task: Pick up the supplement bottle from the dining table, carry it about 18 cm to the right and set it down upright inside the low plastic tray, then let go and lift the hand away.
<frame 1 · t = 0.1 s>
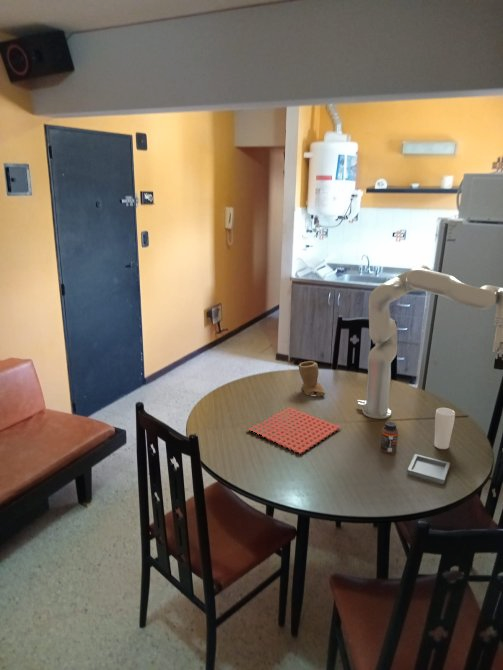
hand: (499, 365, 176), 31 cm above the table, tool pointing down, fingers open, 9 cm apart
tan boot-shaped piece: (310, 392, 230), on the table
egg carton: (293, 432, 193), on the table
tray: (428, 471, 163), on the table
supplement bottle: (388, 450, 177), on the table
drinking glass: (441, 446, 179), on the table
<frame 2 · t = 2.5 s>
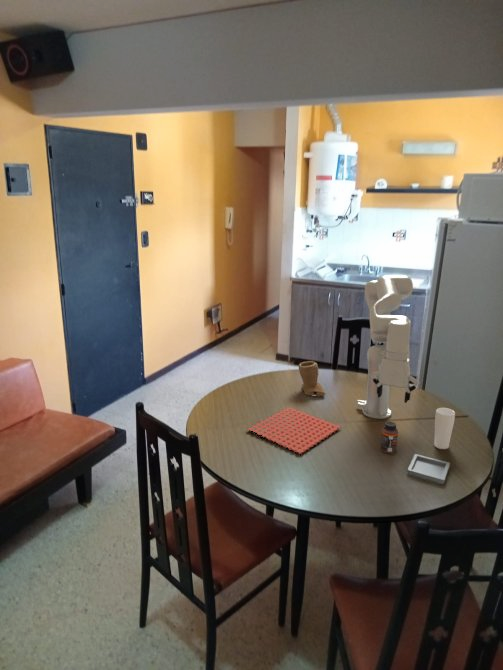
hand: (392, 398, 170), 22 cm above the table, tool pointing down, fingers open, 9 cm apart
nothing on the table moved.
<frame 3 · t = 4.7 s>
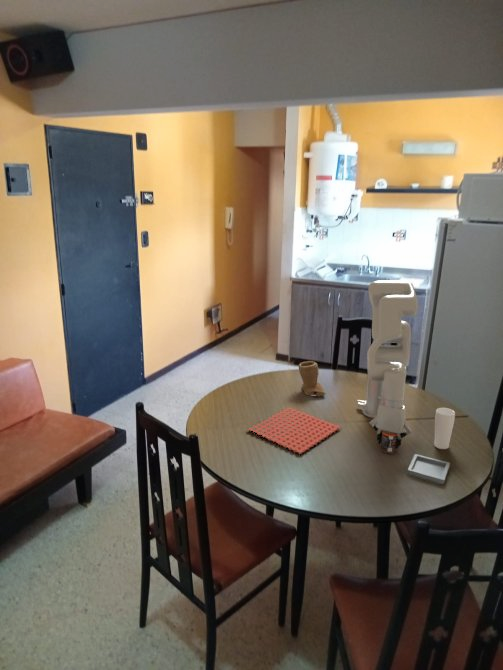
hand: (388, 444, 176), 3 cm above the table, tool pointing down, fingers closed on supplement bottle, 6 cm apart
supplement bottle: (388, 450, 177), on the table, touching gripper
everything else where it was.
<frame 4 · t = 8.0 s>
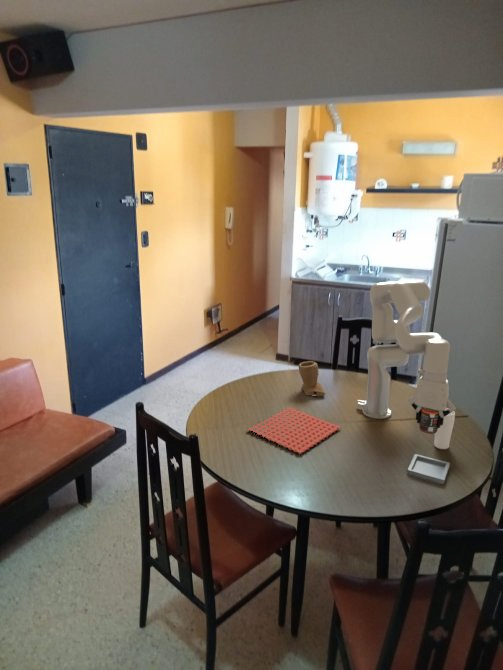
hand: (429, 423, 159), 18 cm above the table, tool pointing down, fingers closed on supplement bottle, 6 cm apart
supplement bottle: (428, 430, 160), point 15 cm above the table, touching gripper
everything else where it was.
when the fingers open (5 cm above the table, at t = 11.1 s): supplement bottle drops 1 cm, resting on tray.
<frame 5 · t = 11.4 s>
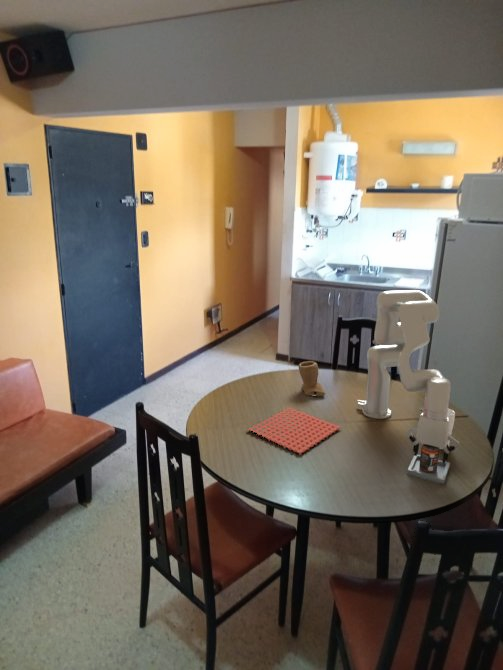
hand: (430, 457, 162), 6 cm above the table, tool pointing down, fingers open, 9 cm apart
supplement bottle: (428, 469, 163), point 1 cm above the table, touching tray
everything else where it was.
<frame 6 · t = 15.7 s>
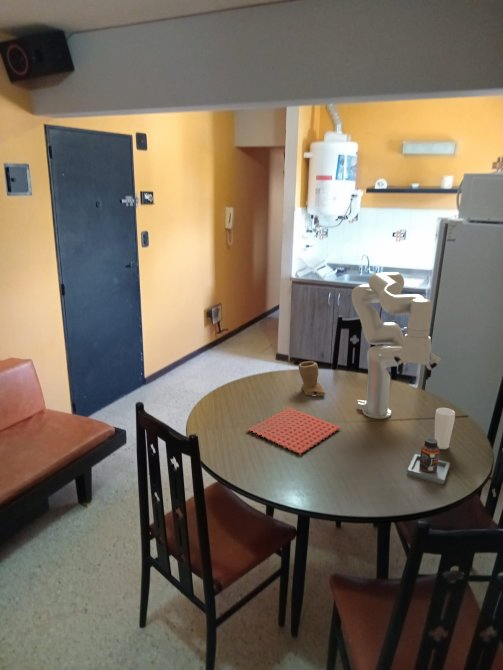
hand: (413, 376, 174), 28 cm above the table, tool pointing down, fingers open, 9 cm apart
nothing on the table moved.
at the end: supplement bottle 0.3 cm off-centre on the tray, point 0.6 cm above the tray's base; supplement bottle tilted 0°; the gripper is holding nothing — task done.
